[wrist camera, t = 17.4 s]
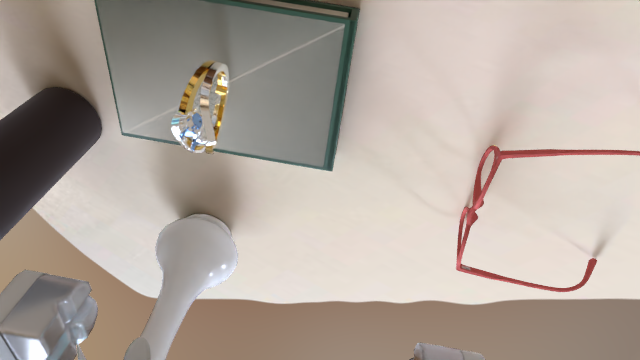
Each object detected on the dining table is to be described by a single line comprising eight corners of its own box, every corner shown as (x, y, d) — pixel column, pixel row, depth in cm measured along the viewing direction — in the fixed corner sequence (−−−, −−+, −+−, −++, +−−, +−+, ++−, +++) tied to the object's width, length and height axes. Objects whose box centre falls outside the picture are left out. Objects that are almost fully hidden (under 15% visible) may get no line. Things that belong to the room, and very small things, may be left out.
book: (360, 8, 34) (357, 20, 32) (335, 153, 43) (332, 171, 40) (109, -32, 35) (89, -23, 32) (136, 119, 43) (121, 135, 41)
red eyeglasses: (487, 110, 38) (498, 142, 34) (681, 132, 37) (714, 168, 33) (441, 247, 49) (445, 283, 45) (590, 267, 48) (607, 305, 44)
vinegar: (116, 137, 45) (-30, 296, 30) (65, 149, 47) (-97, 304, 32) (76, 78, 41) (-116, 224, 26) (22, 93, 43) (-186, 238, 28)
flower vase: (111, 199, 51) (-64, 423, 32) (259, 186, 47) (162, 436, 27) (158, 272, 59) (41, 490, 39) (289, 267, 54) (231, 508, 35)
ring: (209, 41, 34) (168, 86, 28) (249, 52, 34) (217, 100, 28) (202, 115, 38) (166, 169, 32) (238, 125, 39) (208, 181, 32)
